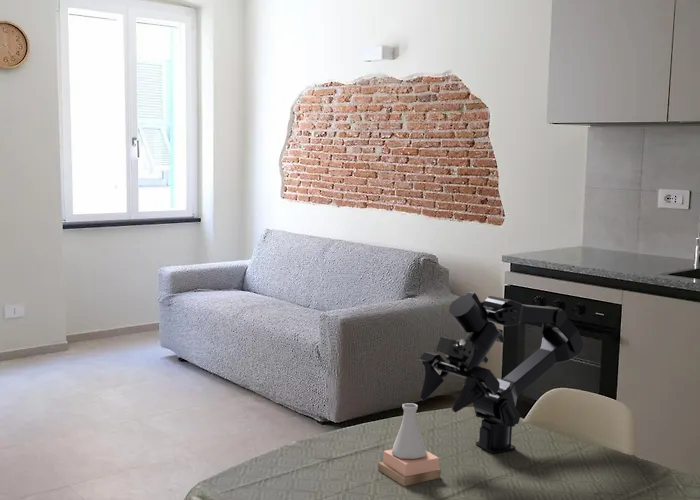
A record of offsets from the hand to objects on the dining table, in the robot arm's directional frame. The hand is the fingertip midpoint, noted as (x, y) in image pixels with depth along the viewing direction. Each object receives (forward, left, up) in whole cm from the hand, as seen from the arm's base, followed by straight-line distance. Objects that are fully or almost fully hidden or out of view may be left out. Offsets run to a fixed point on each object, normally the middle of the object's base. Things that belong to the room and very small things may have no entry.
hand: (437, 405), depth 166 cm
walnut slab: (+7, +1, -14) cm, 16 cm away
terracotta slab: (+7, +1, -11) cm, 14 cm away
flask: (+7, +1, -9) cm, 12 cm away
